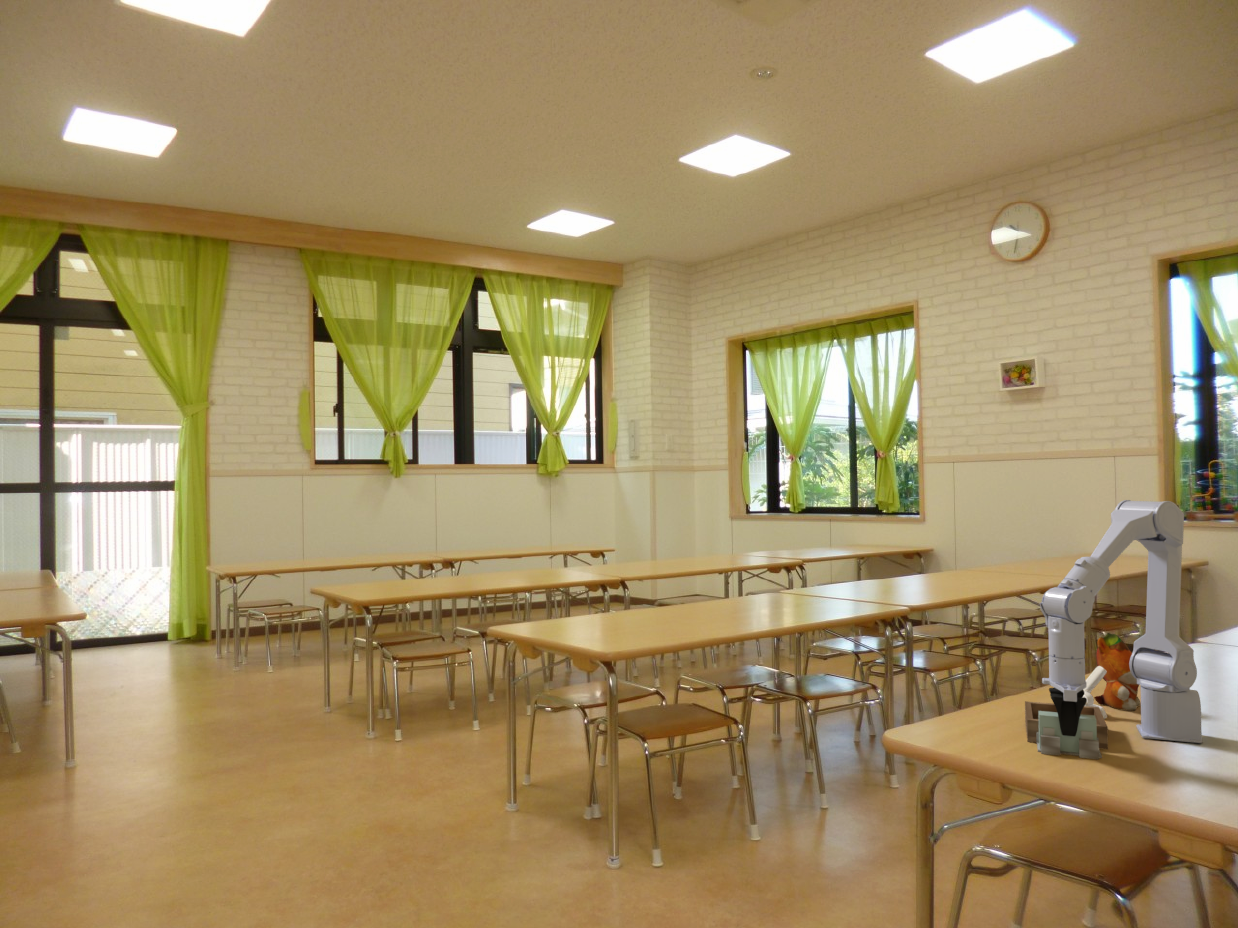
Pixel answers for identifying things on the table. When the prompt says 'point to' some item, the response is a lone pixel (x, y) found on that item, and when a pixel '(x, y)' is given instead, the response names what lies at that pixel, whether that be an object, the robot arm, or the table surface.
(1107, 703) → the toy
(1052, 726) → the door
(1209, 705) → the table surface
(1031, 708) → the carcass
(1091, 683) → the white vr controller
